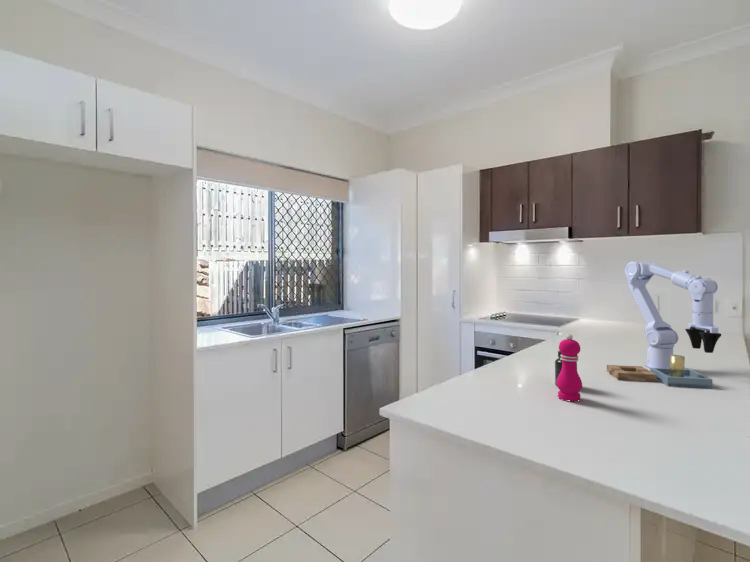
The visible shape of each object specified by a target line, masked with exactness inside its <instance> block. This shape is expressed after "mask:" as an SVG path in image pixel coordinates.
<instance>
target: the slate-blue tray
mask: <svg viewBox="0 0 750 562" xmlns="http://www.w3.org/2000/svg"><path fill="white" fill-rule="evenodd" d="M649 369H650V370H649V371H651V372H652V373H654V374H656V381H658V382H660V383H662V384H664V385H665V386H667V387H678V388H679V387H680V388H681V387H682V388H701V389H702V388H703V389H713V379H712V378H711V377H709V376H706V375H704V374H702V373H700V372H697V371H695V370H693V369H692V368H688V369H687V368H684V377H670V368H649Z"/></svg>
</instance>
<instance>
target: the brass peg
mask: <svg viewBox="0 0 750 562" xmlns="http://www.w3.org/2000/svg"><path fill="white" fill-rule="evenodd" d="M685 359H686V356H684V355H679V354H673V355H670V377H684V369H685V363H686V361H685Z"/></svg>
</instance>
